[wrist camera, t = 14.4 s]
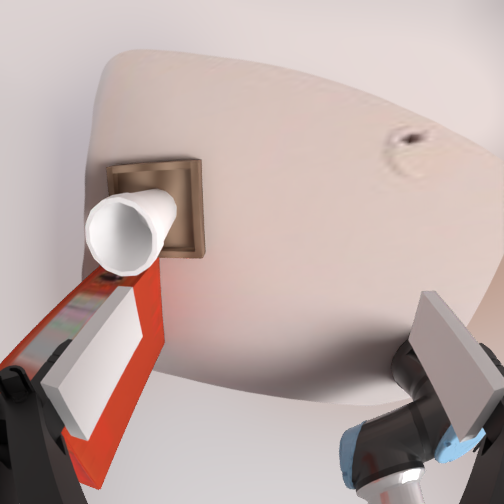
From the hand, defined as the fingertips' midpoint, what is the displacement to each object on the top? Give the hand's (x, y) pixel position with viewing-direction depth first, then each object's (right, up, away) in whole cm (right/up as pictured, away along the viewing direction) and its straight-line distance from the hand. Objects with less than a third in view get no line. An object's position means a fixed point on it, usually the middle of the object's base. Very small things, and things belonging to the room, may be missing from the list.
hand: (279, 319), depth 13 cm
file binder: (-20, -5, +39) cm, 44 cm away
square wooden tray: (-15, +9, +32) cm, 37 cm away
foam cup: (-15, +9, +32) cm, 36 cm away
